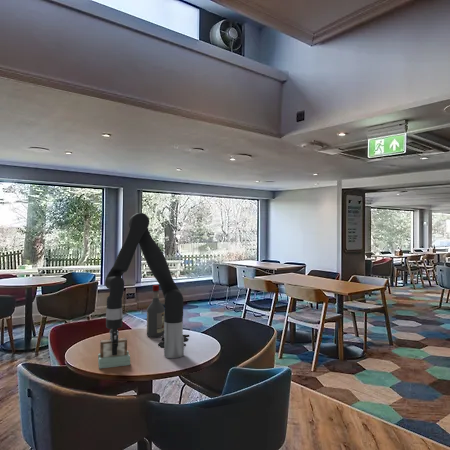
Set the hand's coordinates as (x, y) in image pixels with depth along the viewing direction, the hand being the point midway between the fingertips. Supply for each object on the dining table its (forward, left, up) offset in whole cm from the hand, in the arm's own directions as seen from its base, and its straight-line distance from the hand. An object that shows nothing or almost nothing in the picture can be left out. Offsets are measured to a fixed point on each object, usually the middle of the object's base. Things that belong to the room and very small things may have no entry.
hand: (114, 353), depth 181 cm
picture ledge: (0, 0, -5) cm, 5 cm away
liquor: (-27, -40, -5) cm, 49 cm away
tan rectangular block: (0, 0, -3) cm, 3 cm away
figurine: (-34, -23, -5) cm, 41 cm away
